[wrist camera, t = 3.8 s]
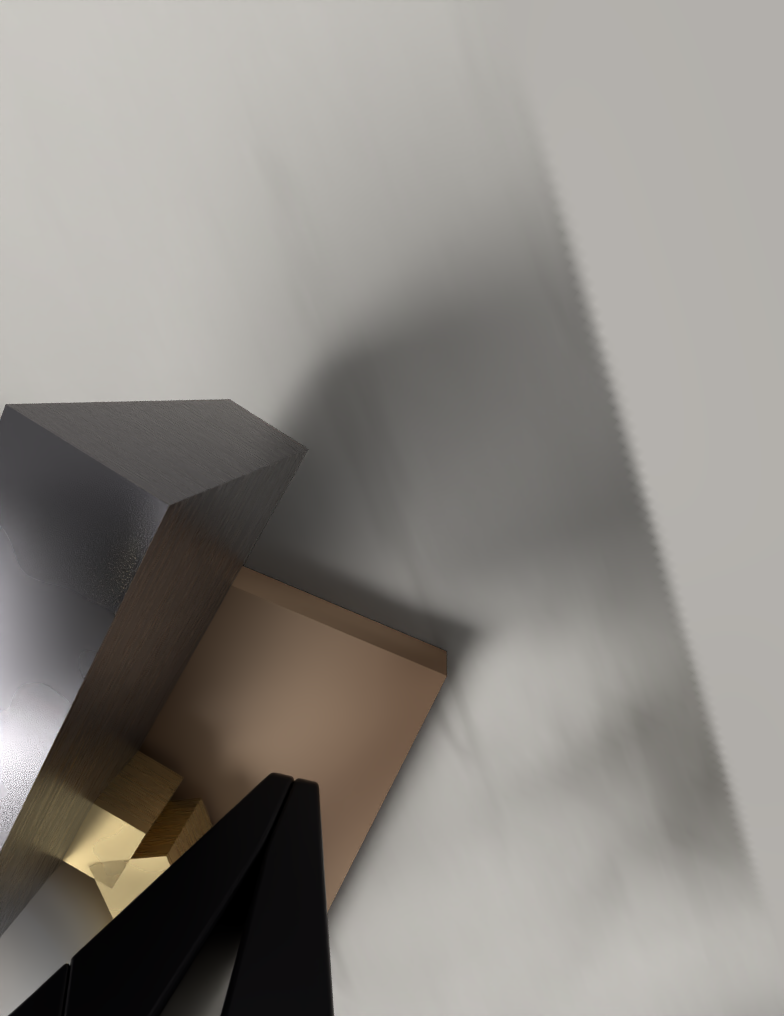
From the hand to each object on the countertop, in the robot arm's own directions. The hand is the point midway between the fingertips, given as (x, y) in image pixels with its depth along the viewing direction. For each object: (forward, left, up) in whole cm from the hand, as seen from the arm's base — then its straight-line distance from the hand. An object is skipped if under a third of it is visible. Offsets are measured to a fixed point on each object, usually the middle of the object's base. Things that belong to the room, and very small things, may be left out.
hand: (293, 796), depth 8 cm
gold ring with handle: (+5, +5, -3) cm, 8 cm away
